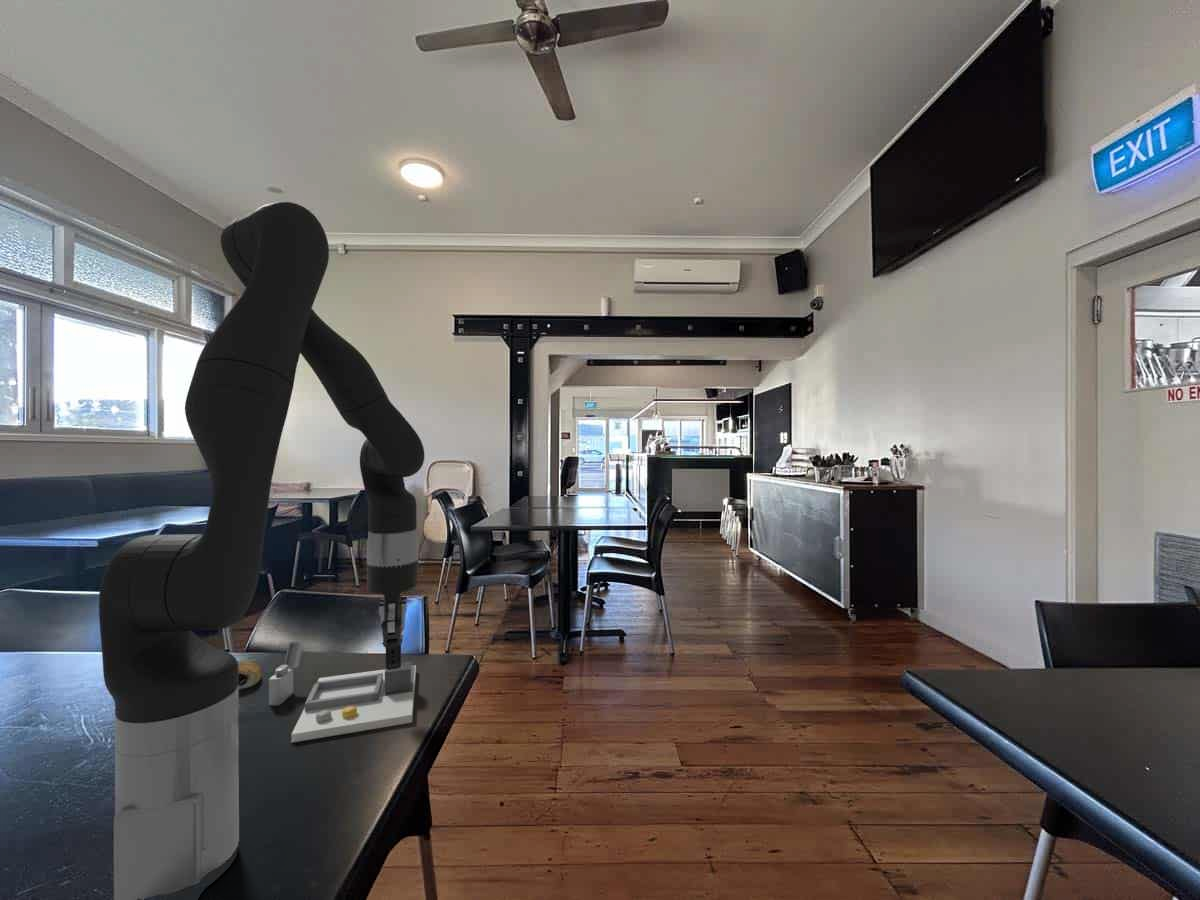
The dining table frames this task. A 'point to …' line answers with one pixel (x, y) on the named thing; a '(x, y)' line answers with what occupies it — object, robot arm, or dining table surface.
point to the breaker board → (353, 705)
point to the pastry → (248, 674)
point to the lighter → (284, 675)
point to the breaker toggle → (398, 678)
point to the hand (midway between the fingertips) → (393, 666)
